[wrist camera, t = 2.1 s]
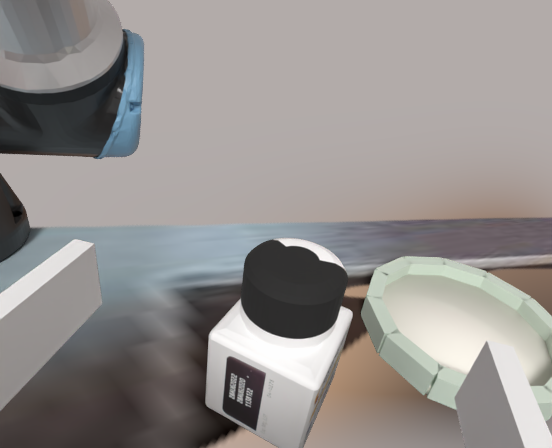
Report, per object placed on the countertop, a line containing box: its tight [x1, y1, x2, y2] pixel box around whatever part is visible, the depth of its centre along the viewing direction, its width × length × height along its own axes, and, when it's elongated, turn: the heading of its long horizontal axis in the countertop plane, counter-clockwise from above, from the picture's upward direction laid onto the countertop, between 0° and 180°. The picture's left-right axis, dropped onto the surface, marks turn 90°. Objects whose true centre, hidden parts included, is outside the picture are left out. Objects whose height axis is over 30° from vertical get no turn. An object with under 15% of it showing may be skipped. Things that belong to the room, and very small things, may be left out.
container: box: [205, 238, 353, 448], centre depth 27 cm, size 8×8×13 cm
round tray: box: [361, 256, 552, 421], centre depth 38 cm, size 19×19×2 cm
